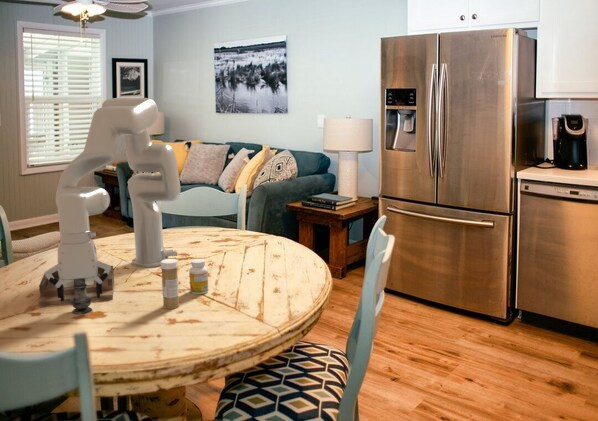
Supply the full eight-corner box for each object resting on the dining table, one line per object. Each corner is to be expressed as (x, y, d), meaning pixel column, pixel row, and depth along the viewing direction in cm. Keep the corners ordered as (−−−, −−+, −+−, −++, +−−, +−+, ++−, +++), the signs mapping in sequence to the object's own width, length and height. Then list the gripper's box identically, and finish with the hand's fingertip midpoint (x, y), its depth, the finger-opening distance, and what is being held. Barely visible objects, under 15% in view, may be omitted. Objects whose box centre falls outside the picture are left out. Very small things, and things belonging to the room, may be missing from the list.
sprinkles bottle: (163, 304, 169) (160, 258, 166) (179, 303, 169) (177, 257, 167) (162, 310, 164) (160, 263, 161) (179, 308, 165) (177, 262, 162)
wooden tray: (114, 280, 190) (112, 265, 189) (112, 299, 173) (111, 283, 172) (46, 286, 184) (45, 271, 183) (38, 306, 167) (37, 290, 166)
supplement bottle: (191, 289, 181) (189, 258, 179) (209, 288, 181) (207, 257, 179) (189, 295, 176) (188, 263, 174) (207, 294, 176) (206, 263, 174)
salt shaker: (86, 315, 161) (82, 273, 158) (66, 314, 162) (62, 272, 159) (97, 307, 166) (94, 266, 164) (78, 306, 167) (74, 265, 165)
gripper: (109, 232, 166) (114, 290, 169) (42, 236, 161) (48, 297, 164) (108, 238, 159) (113, 299, 162) (38, 243, 154) (45, 306, 157)
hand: (80, 298), depth 163 cm, fingers open, 9 cm apart
